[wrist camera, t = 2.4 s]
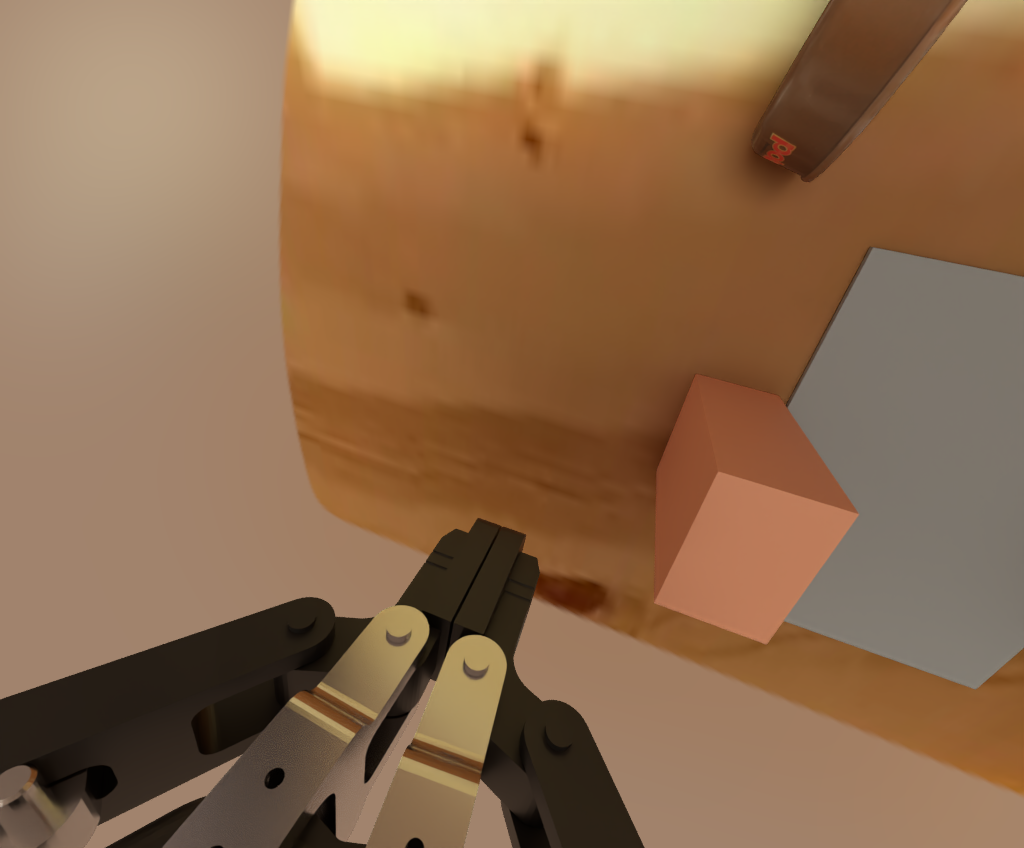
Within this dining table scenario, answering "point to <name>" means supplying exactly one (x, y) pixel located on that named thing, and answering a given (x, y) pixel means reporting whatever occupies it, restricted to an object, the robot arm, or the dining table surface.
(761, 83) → the dining table surface
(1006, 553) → the slate pad
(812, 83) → the tin
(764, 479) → the terracotta block
